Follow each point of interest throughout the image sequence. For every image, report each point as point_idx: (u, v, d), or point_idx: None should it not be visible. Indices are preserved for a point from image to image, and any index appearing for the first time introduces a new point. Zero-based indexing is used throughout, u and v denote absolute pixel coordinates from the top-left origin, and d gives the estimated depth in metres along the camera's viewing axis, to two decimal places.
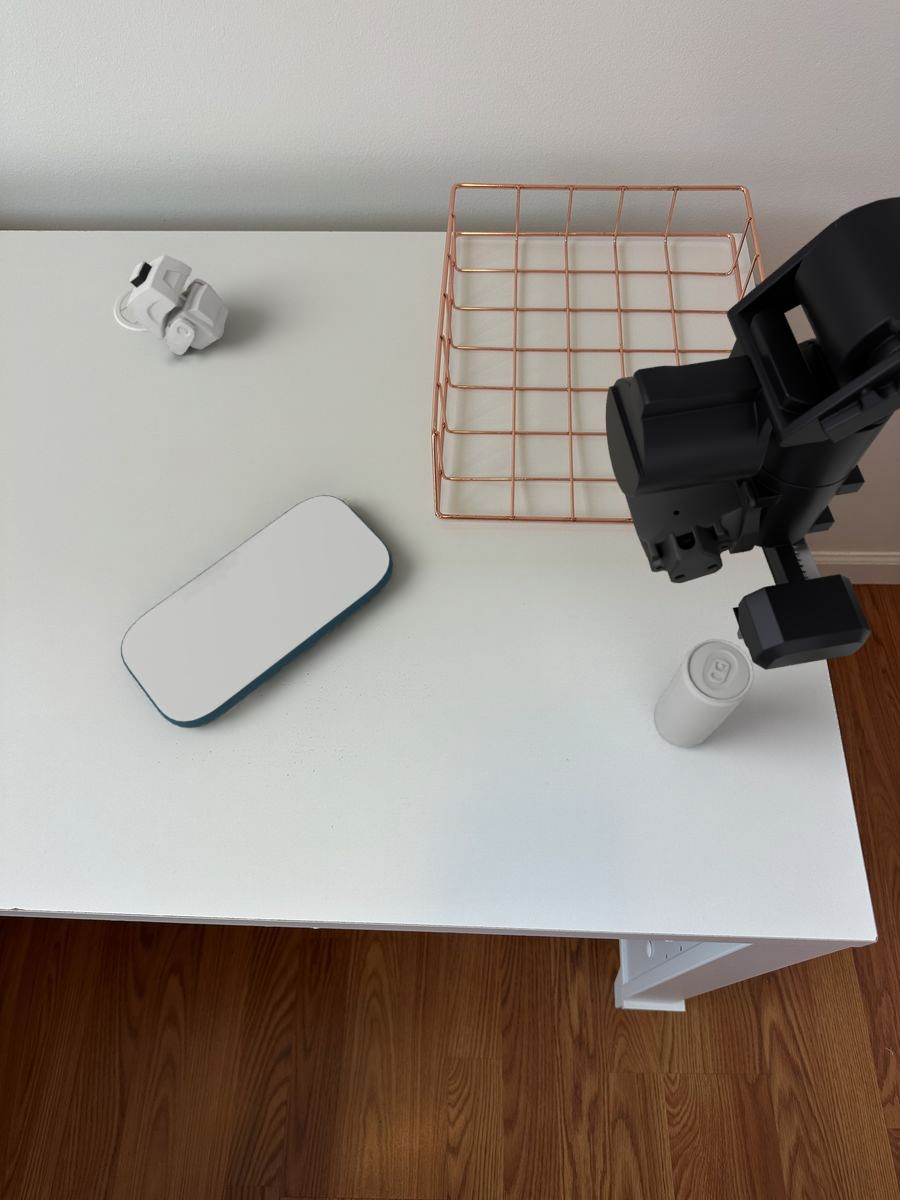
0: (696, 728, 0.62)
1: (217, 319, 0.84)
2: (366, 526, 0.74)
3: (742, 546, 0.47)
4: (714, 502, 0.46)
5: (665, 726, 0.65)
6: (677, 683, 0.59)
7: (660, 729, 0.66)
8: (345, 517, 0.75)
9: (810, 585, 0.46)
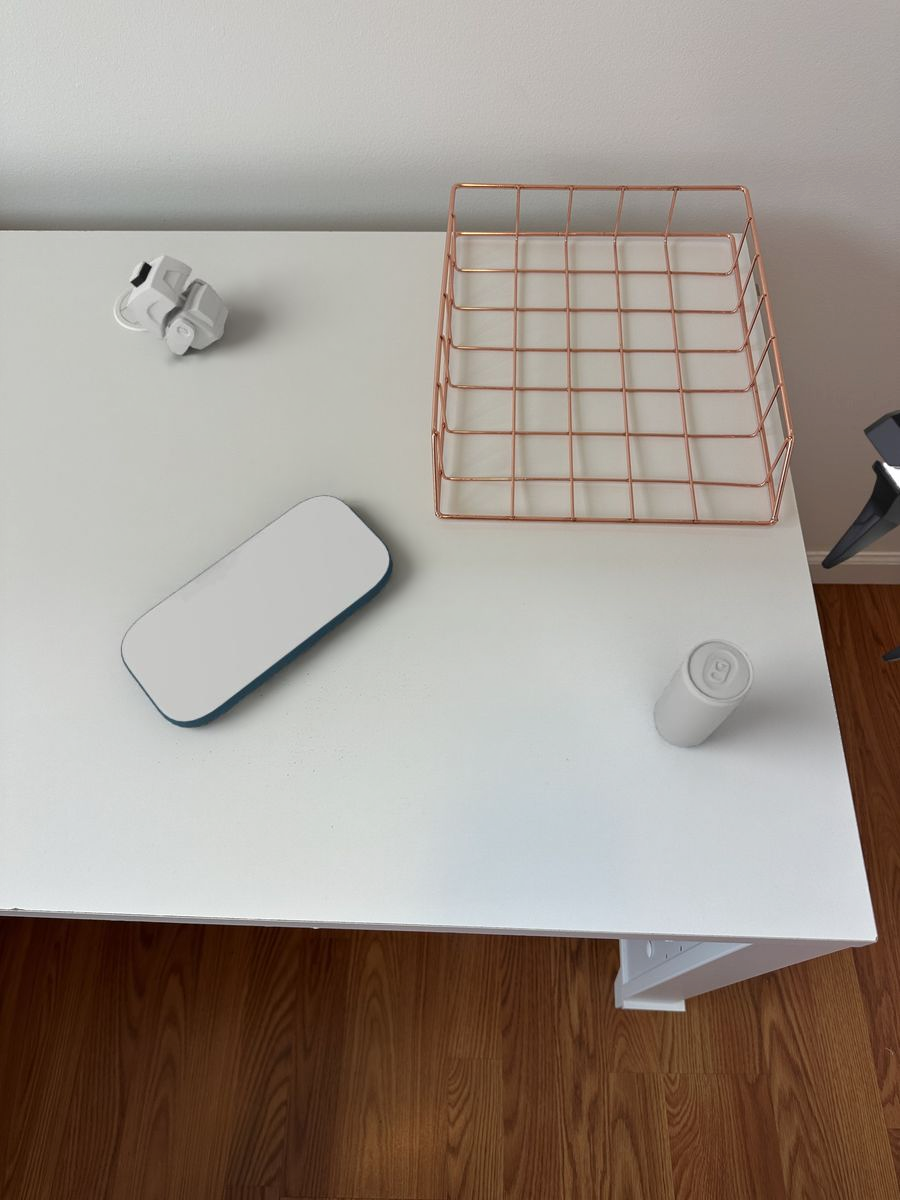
0: (696, 728, 0.62)
1: (217, 319, 0.84)
2: (366, 526, 0.74)
3: None
4: None
5: (665, 726, 0.65)
6: (677, 683, 0.59)
7: (660, 729, 0.66)
8: (345, 517, 0.75)
9: None
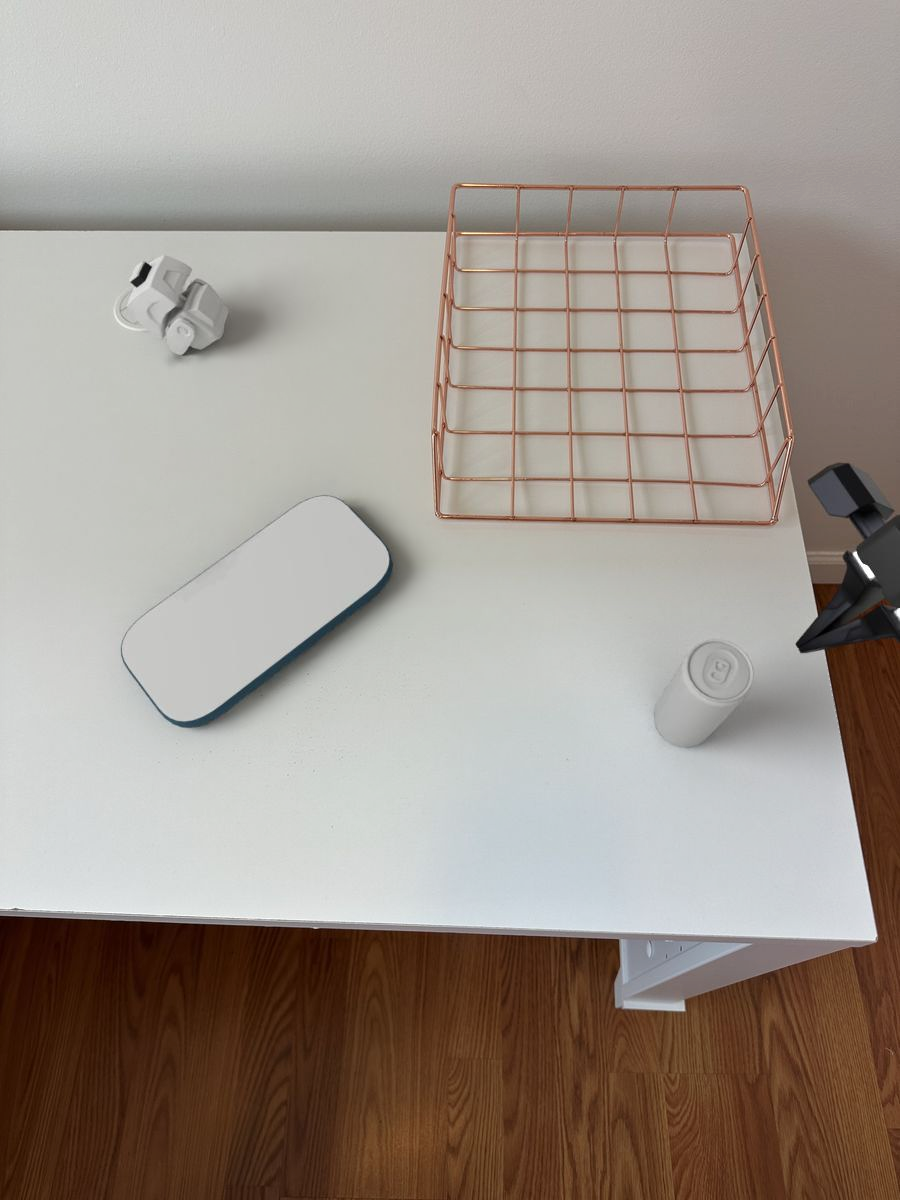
0: (696, 728, 0.62)
1: (217, 319, 0.84)
2: (366, 526, 0.74)
3: None
4: None
5: (665, 726, 0.65)
6: (677, 683, 0.59)
7: (660, 729, 0.66)
8: (345, 517, 0.75)
9: None
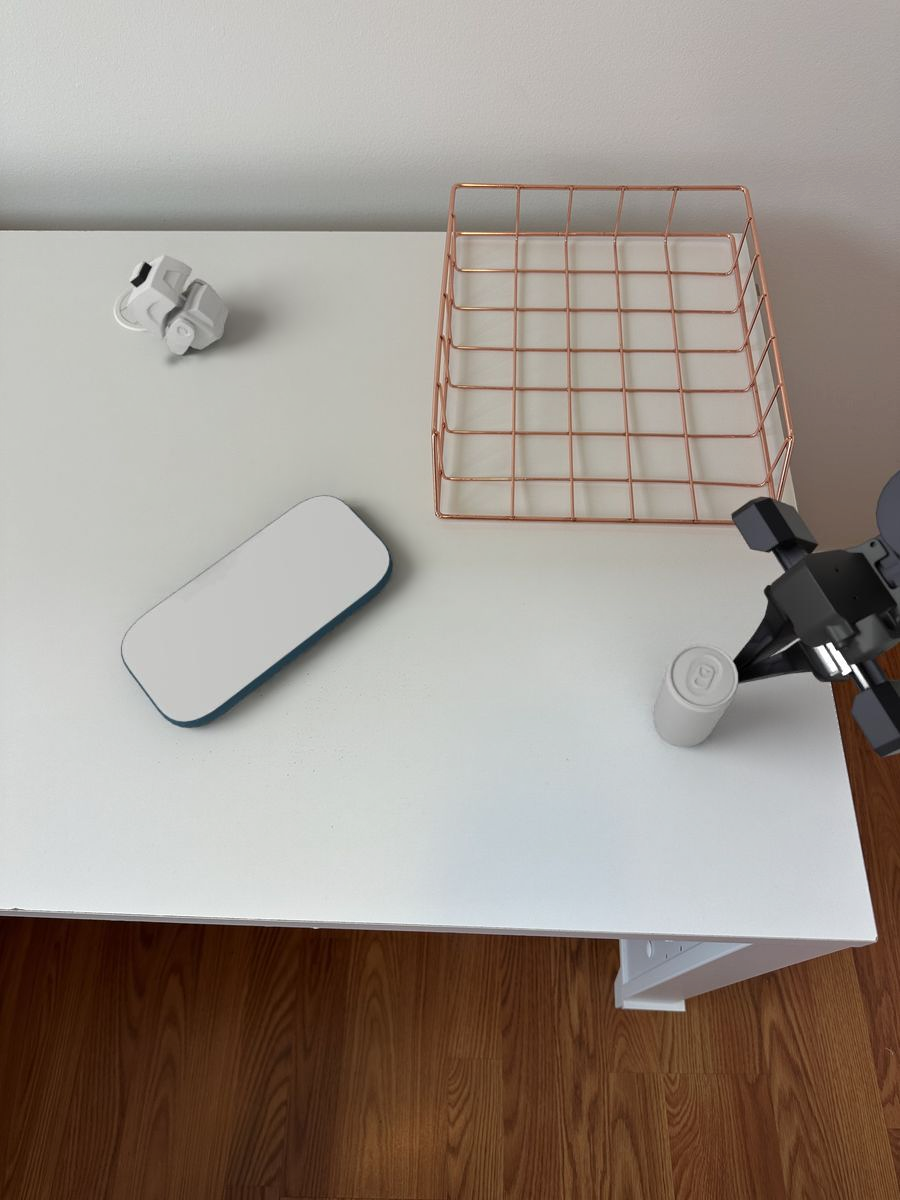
0: (688, 731, 0.61)
1: (217, 319, 0.84)
2: (366, 526, 0.74)
3: None
4: (877, 596, 0.50)
5: (662, 727, 0.65)
6: (664, 688, 0.59)
7: (658, 730, 0.66)
8: (345, 517, 0.75)
9: None
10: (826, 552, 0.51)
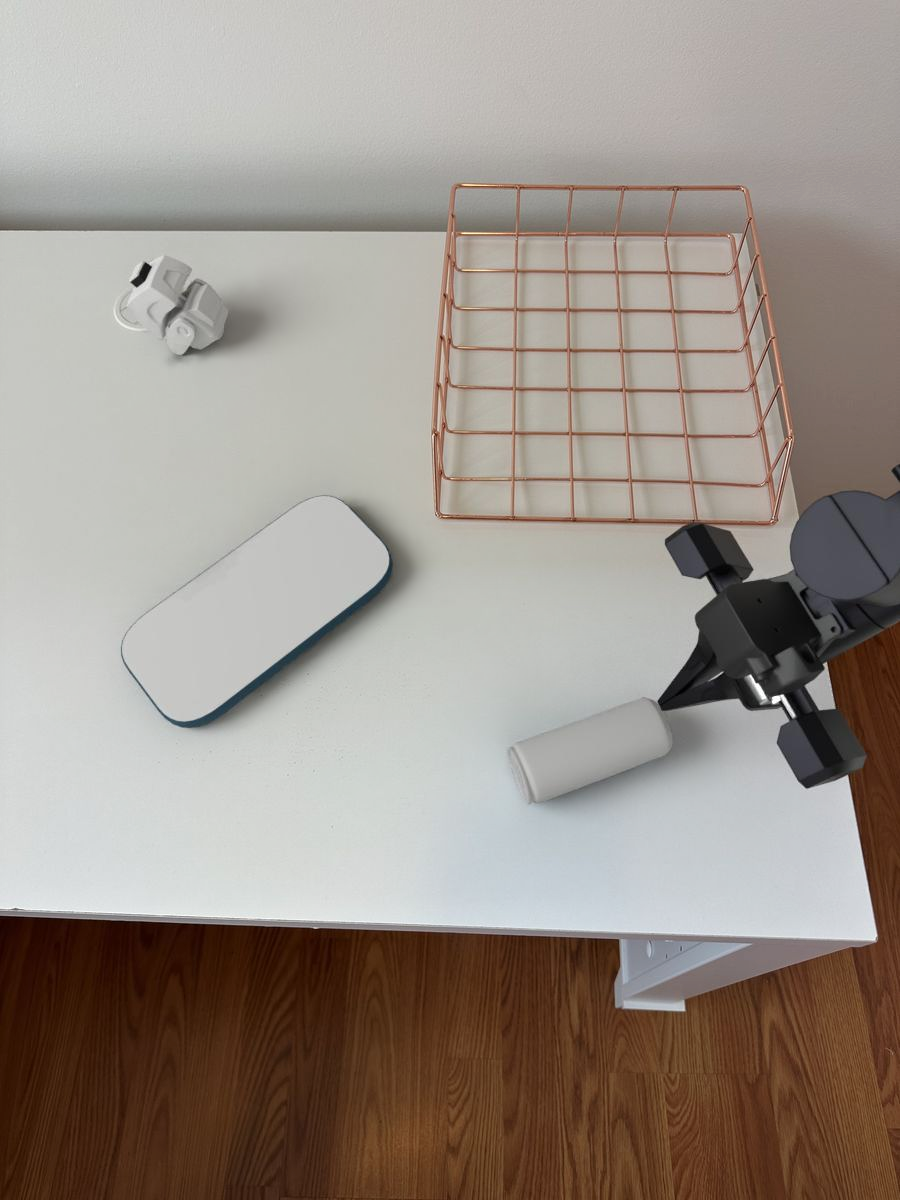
0: None
1: (217, 319, 0.84)
2: (366, 526, 0.74)
3: None
4: (800, 626, 0.50)
5: None
6: None
7: None
8: (345, 517, 0.75)
9: (831, 714, 0.53)
10: (749, 582, 0.50)
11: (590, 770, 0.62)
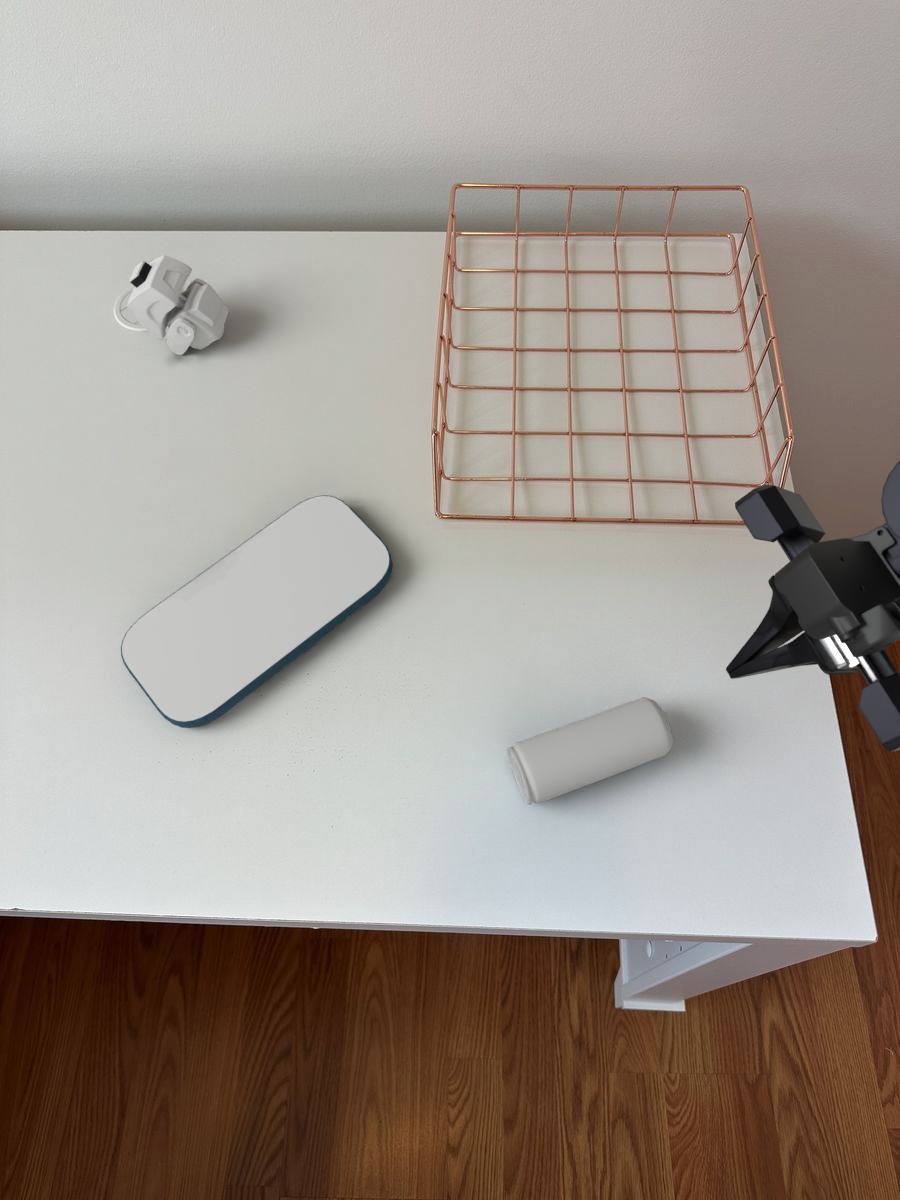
0: None
1: (217, 319, 0.84)
2: (366, 526, 0.74)
3: None
4: (885, 586, 0.49)
5: None
6: None
7: None
8: (345, 517, 0.75)
9: None
10: (831, 541, 0.49)
11: (590, 770, 0.62)
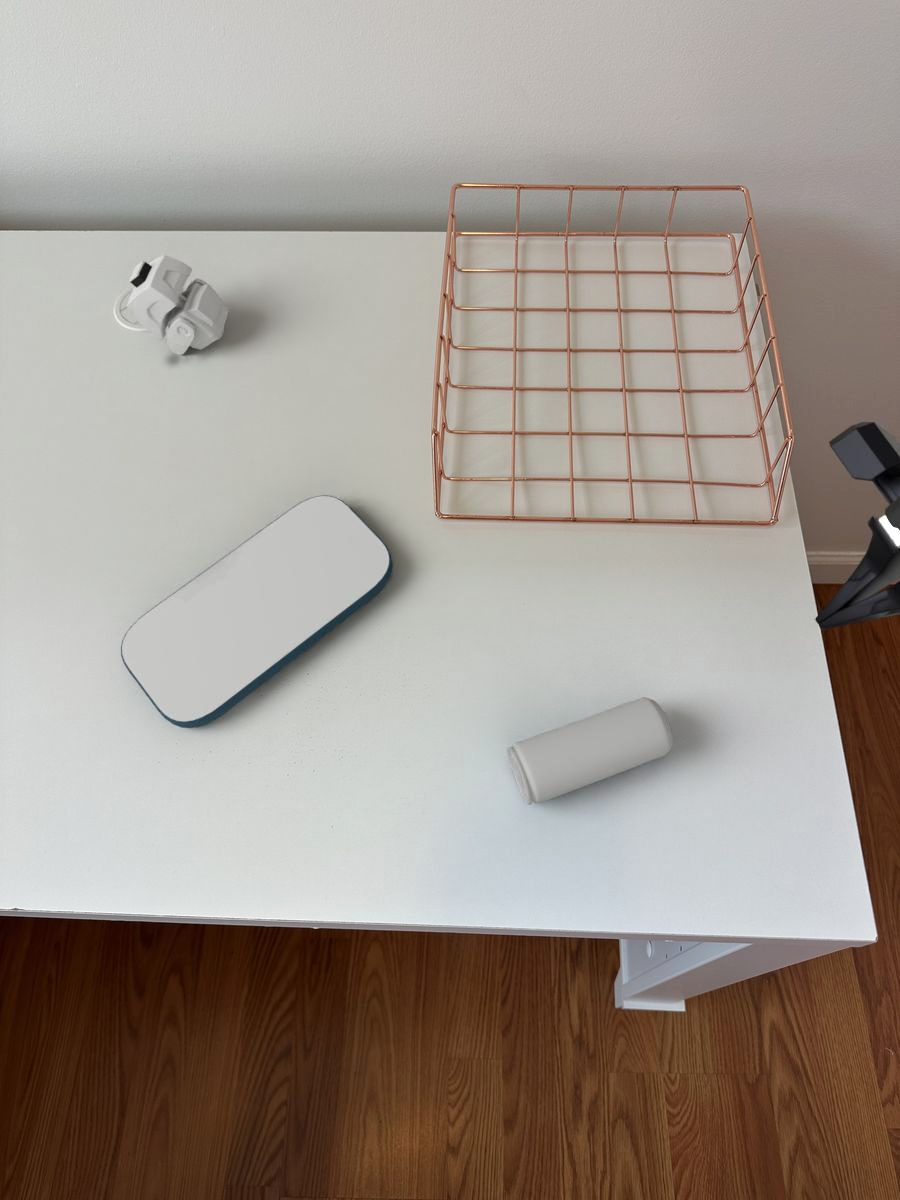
0: None
1: (217, 319, 0.84)
2: (366, 526, 0.74)
3: None
4: None
5: None
6: None
7: None
8: (345, 517, 0.75)
9: None
10: None
11: (590, 770, 0.62)
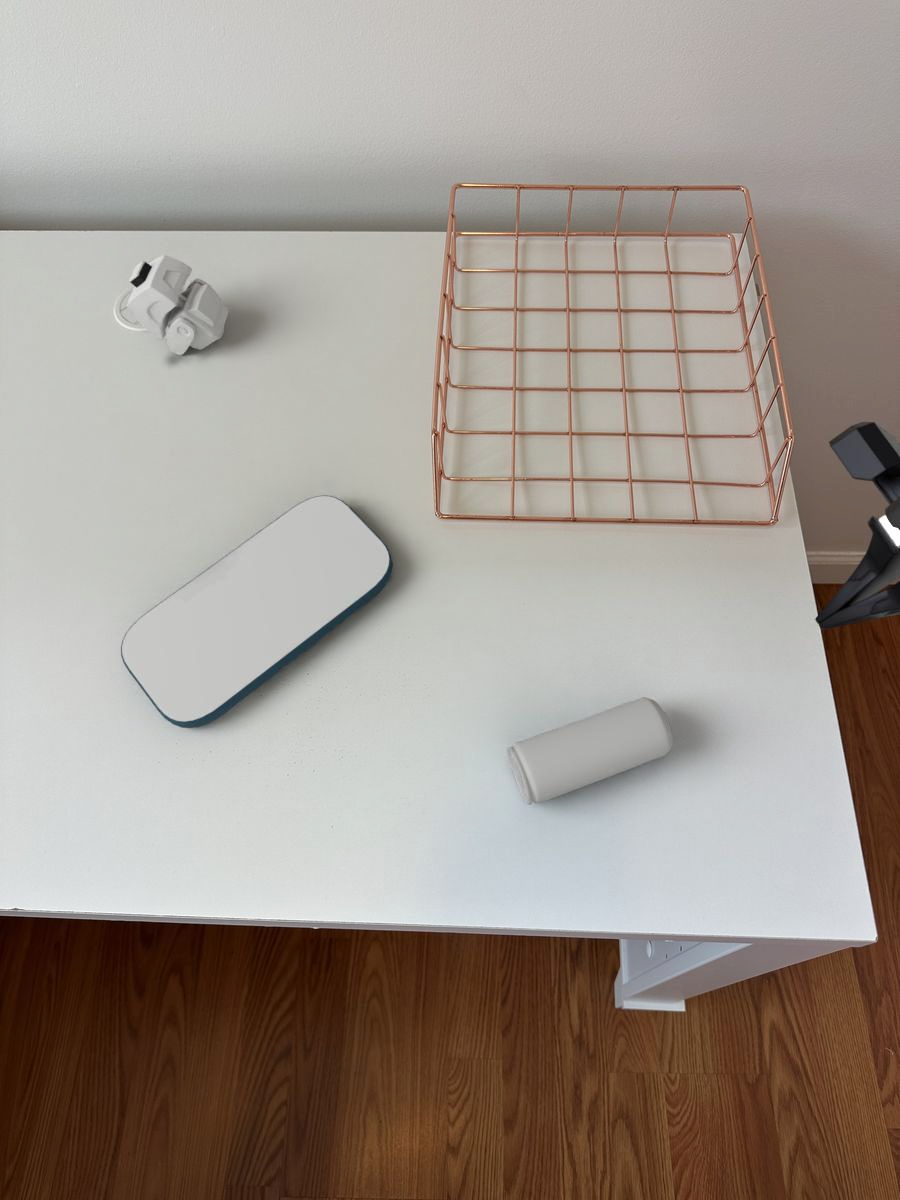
0: None
1: (217, 319, 0.84)
2: (366, 526, 0.74)
3: None
4: None
5: None
6: None
7: None
8: (345, 517, 0.75)
9: None
10: None
11: (590, 770, 0.62)
